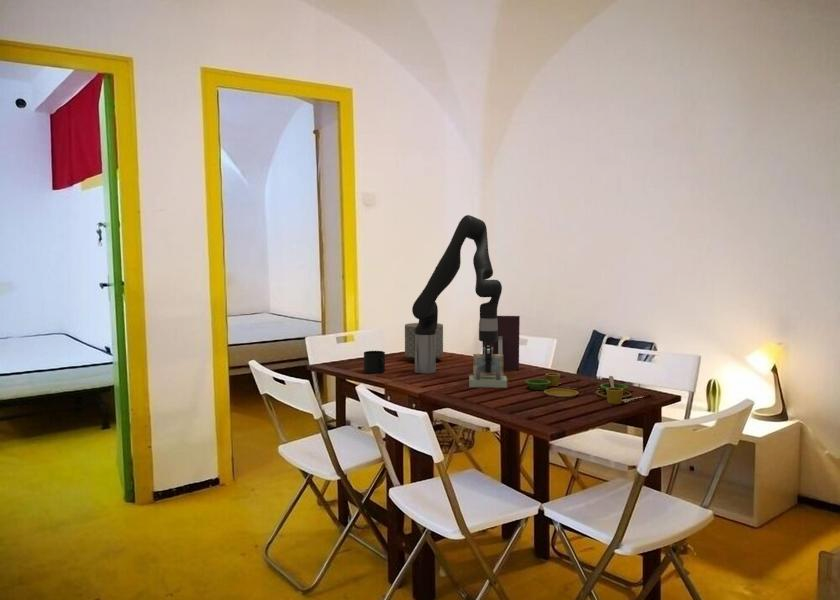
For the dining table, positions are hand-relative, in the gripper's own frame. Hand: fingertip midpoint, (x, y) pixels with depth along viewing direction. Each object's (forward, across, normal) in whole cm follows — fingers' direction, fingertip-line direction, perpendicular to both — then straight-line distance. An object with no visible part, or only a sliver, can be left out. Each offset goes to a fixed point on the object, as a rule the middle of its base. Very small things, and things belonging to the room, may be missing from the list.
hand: (487, 371), depth 258 cm
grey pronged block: (+6, 0, 0) cm, 6 cm away
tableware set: (+6, -12, -35) cm, 38 cm away
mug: (+6, +24, +50) cm, 55 cm away
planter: (+6, +57, +30) cm, 65 cm away
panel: (+1, 0, 0) cm, 1 cm away
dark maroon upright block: (+6, +31, -6) cm, 32 cm away
